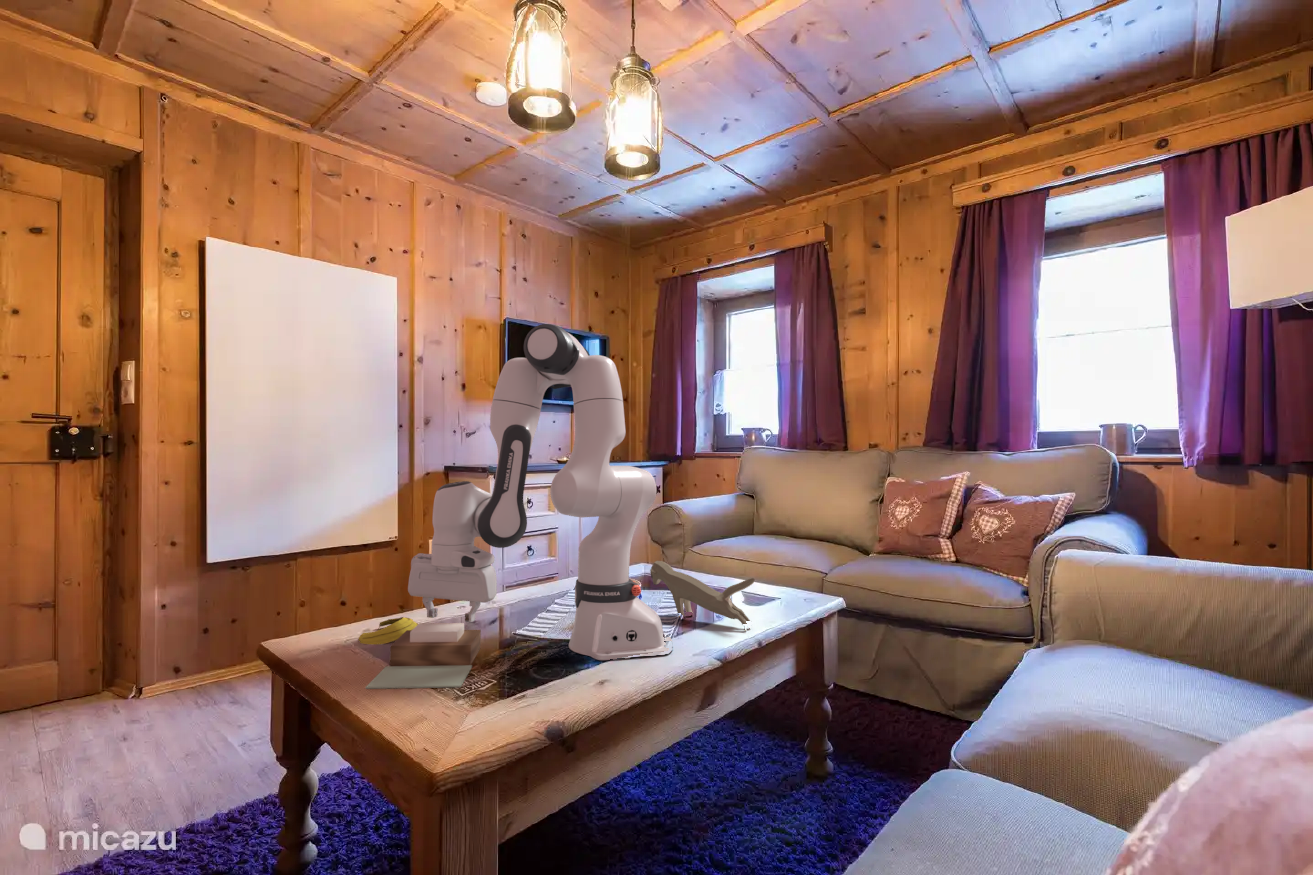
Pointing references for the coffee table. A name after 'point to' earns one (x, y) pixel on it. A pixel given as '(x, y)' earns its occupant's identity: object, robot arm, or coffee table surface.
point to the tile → (437, 632)
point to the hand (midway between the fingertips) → (450, 619)
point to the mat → (420, 677)
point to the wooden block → (435, 651)
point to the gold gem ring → (388, 631)
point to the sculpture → (698, 592)
